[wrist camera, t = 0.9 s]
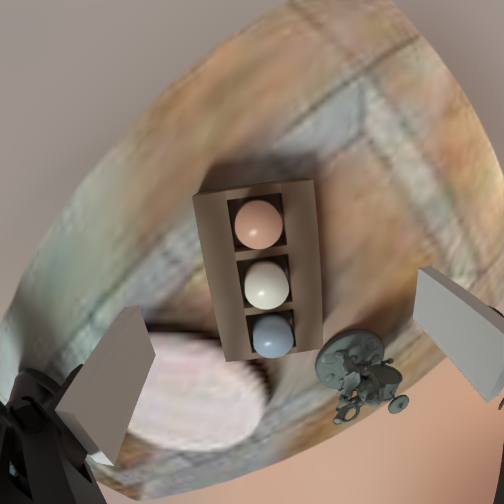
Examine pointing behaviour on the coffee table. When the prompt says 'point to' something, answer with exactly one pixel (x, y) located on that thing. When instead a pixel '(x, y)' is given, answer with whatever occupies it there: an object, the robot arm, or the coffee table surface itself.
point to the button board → (241, 257)
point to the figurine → (359, 373)
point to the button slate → (272, 335)
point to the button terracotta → (258, 224)
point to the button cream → (266, 284)
